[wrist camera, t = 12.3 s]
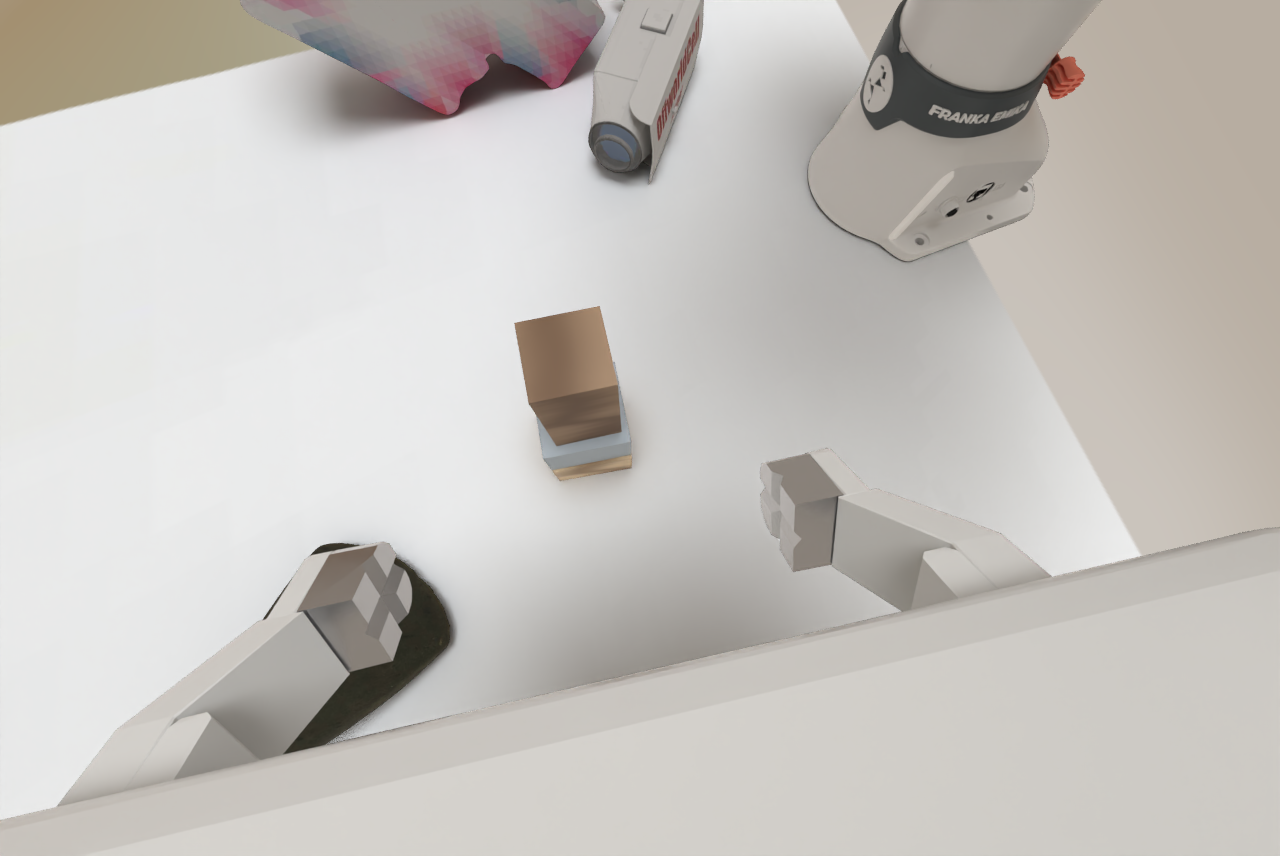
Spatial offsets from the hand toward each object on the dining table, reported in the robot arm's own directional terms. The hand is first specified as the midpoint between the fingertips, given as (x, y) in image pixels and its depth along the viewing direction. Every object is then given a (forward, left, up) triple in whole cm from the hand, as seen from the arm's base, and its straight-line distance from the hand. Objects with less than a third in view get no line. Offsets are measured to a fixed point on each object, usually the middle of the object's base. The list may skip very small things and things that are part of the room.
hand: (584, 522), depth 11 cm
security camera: (-12, -47, -29) cm, 56 cm away
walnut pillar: (0, -10, -21) cm, 23 cm away
